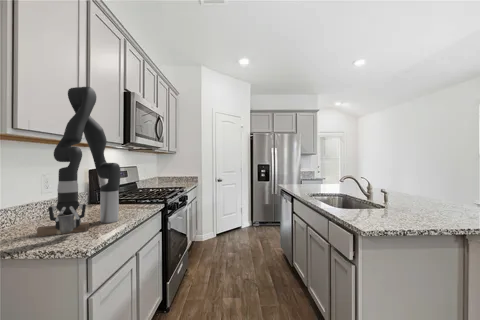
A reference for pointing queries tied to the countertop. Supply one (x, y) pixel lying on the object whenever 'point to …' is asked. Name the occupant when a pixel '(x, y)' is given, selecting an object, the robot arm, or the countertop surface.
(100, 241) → the countertop surface
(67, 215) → the pipe
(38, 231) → the banded brown beam
